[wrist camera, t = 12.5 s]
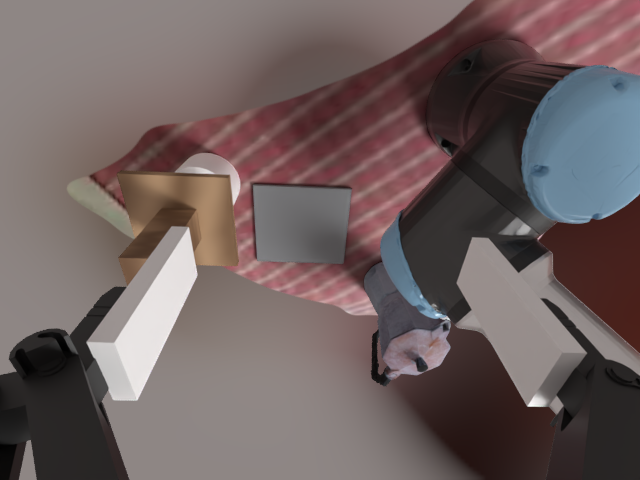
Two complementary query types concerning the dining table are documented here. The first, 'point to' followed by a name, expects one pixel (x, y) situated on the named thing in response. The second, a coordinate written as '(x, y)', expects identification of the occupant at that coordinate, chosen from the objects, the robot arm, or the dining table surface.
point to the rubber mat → (301, 223)
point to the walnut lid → (179, 215)
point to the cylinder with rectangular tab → (212, 169)
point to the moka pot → (402, 331)
